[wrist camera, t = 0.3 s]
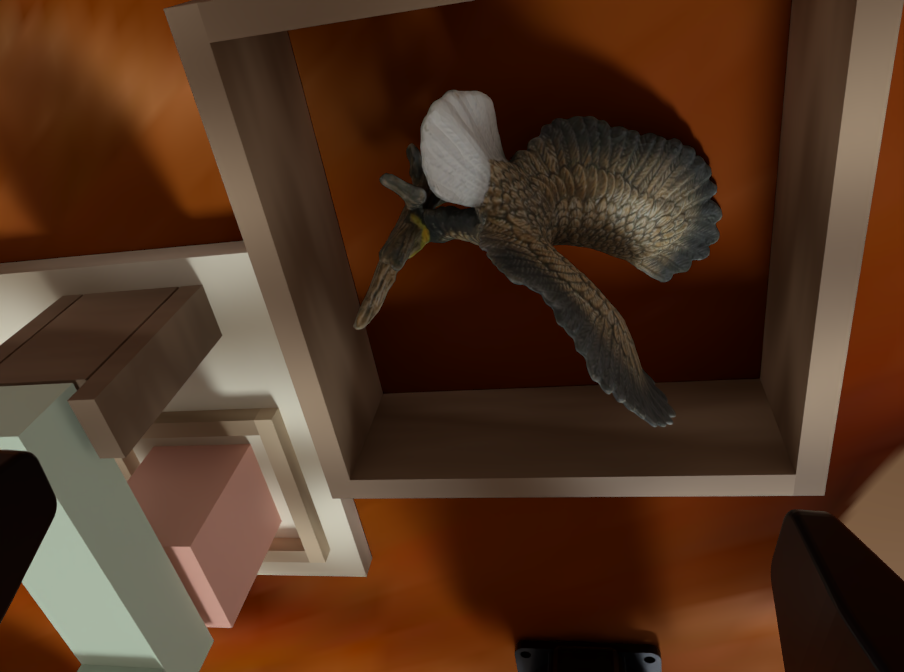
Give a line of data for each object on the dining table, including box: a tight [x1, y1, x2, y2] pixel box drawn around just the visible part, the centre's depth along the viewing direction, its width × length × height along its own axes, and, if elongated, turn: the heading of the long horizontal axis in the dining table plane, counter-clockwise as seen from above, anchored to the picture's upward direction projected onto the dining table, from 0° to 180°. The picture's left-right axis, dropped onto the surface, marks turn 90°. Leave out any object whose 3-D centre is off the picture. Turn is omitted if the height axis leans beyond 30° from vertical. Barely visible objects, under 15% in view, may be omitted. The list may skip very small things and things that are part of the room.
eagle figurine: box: [353, 90, 722, 427], centre depth 18 cm, size 8×7×9 cm
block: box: [127, 444, 282, 628], centre depth 26 cm, size 4×4×5 cm
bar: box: [0, 383, 214, 672], centre depth 21 cm, size 11×3×3 cm, turn 9°
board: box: [0, 241, 372, 577], centre depth 26 cm, size 16×20×7 cm
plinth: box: [164, 0, 904, 499], centre depth 19 cm, size 15×15×4 cm
